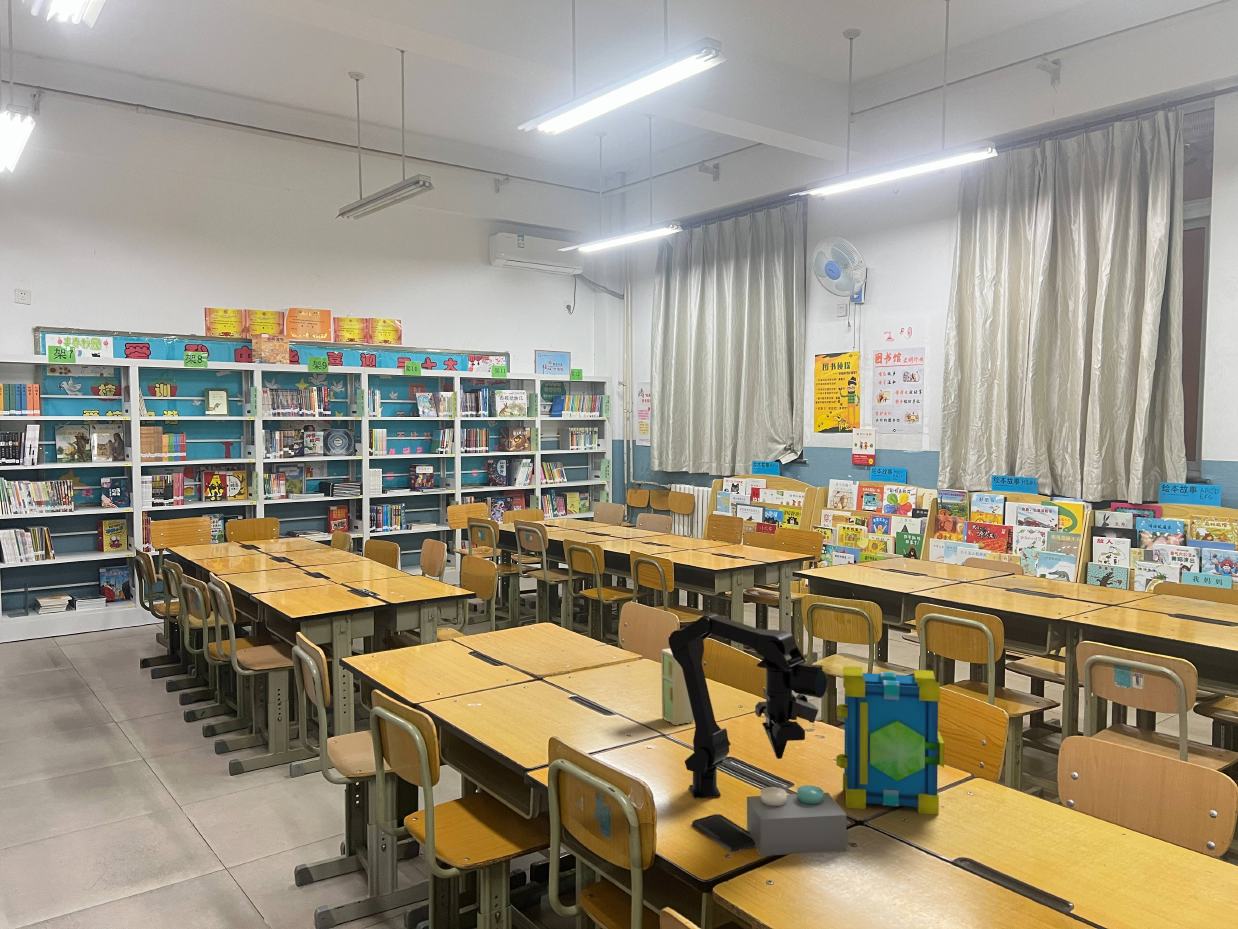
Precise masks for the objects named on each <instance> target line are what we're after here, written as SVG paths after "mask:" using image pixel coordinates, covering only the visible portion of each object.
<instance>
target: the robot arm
mask: <svg viewBox="0 0 1238 929" xmlns="http://www.w3.org/2000/svg"><path fill="white" fill-rule="evenodd" d="M711 635H714V636H717V637H719V638H723V639H726V640H727V641H732V642H734V643H737V644H740V645H744V646H746V647H748V648H751V649H752V650H754V651H755V652H756V653H757V655H759V656H761V657H762V660H761V661H759V662H758V663H757V664H756V666H757V668H762V669H765V671H766V672H765V686H766V687H765V690H763V696H764V697H765V701H758V702H757V703H756V704H755V710H754V711H755V712H754V713H755V716H757V717H758V718H761V717H762V714H764V717H765V722H762V723H761V724H762V727H763V729H764V731H765V734H766V736H767V739H768V740H769V743H770V745H771V748H772V750H773V753H774V756H775V758H776V759H777V760H781V759H783V757H784V752H785V750H786V747H787V743H788V742H793V741H804V740H806V730H805V729H804V727H802V726H801V724H799V723H798V722H797V720H798V719H803V720H805V721H808V722H809V723H812V724H814V723H815V720H816V718H817V715H818V712H819V708H817V706H816V705H814V704H812V703H811V702H809V701H808V696H809V697H813V698H818V699H821V698H823V697H824V695H825V694H826V691H827V687H828V678H827V674H826V673H825V671H824V670H823V665H820V664H810V663H807V659H806V658H805V656H804V655H803V653H802V652H801V650H800V649H799V647H798V645H797V641H796V639H795V637H794V635H793V634H792V633H791V632H790V631H786V630H779V629H763V628H757V627H755V626H751V625H748V624H745V623H742V622H738V621H735V620H732V619H730V618H727V617H723V616H722V615H721V616H720V614H717V613H715V612H714V613H713V612H712V613H709V614H705V615H703V616H701V617H699V619H697V620H696V621H695V622H692V623H691V624H689V625H688V626H686V627H683V628H679V629H676V630H674V631H672V632H671V633H670V636H669V637H668V646H669V648H670V649H671V652H672V654H673V657H674V658H675V660H676V661H677V662H678V663H679V665H680V666H681V667H682V670H683V675H684V679H685V683H686V687H687V692H688V696H689V700H690V705H691V709H692V713H693V718H694V722H693V723H694V725H695V729H694V735H693V740H692V744H693V753H692V754H690V756H688V757H687V758H686V759H685V760H684V763H685V764H684V765H685V768H686V770H687V771H689V772H692V784H689V786H688V788H689V790H690V793H691V795H692V797H693V798H694V799H699V798H700V799H701V798H720V797H721V792H720V790H719V788H718V783H717V781H718V780H717V779H718V778H717V776H718V775H717V773H718V771H717V770H718V769H717V767H718V766H719V765H722V764H723V763H724V760H725V759H726V757H727V756H728V754H729V753H730V746H731V745H732V743H731V742H730V741H729V738H728V737H729V736H728V730H727V728H726V727H724V728H721V727H720V725H718V723H717V722H716V719H715V718H716V717H715V713H714V709H713V705H712V701H711V696H710V693H709V689H708V684H707V680H706V675H705V671H704V667H703V658H704V652H705V644H704V640H706V639H707V638H708V637H709V636H711ZM788 657H790V658H789V659H787V658H788ZM793 692H794V693H795V694H797V695H796V696H795V695H794V694H793Z"/></svg>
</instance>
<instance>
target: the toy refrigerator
mask: <svg viewBox="0 0 1238 929" xmlns="http://www.w3.org/2000/svg"><path fill="white" fill-rule="evenodd" d="M660 651H661V654H660V656H661V658H660V659H661V660H660V661H661V663H660V664H661V666H660V667H661V668H660V669H661V710H662V711H661V717H663V718H665V719H666V720H668V721H669V722H671V723H672V724H673V725H672V724H671V723H670V724H671V725H672V726H674V725H677V726H680V725H679V724H683V725H685V724H684V723H688V724H691V723H690V722H693V723H695V722H694V718H693V713H692V709H691V705H690V700H689V696H688V692H687V687H686V683H685V679H684V675H683V670H682V667H681V666H680V665H679V663H678V662H677V661H676V660H675V658H674V657H673V654H672V652H671V649H670V647H669V648H663V649H661V650H660ZM663 718H662V719H663ZM666 720H665V721H666ZM669 722H668V723H669Z"/></svg>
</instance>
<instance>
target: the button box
mask: <svg viewBox="0 0 1238 929" xmlns="http://www.w3.org/2000/svg"><path fill="white" fill-rule="evenodd" d="M847 821H848V820H847V813H846V812H845V811H844V810H843V809H842V807H841V806H840V805H839V803H838V802H836V800H835V799H834V798H833V797H832V795H831V794H830V793H829V792H823V802H821V803H819V804H806V803H803V802H800V801H799V800H798V799H797V793H795V794H791V793H789V794H787V801H786V804H784V805H782V806H769V805H766V804H764V803H762V802H761V795H755V796H754V795H753V796H747V797H746V831H748V832H749V833H750V835H751V837H752V838H753V840H754V842H755V846H754V848H756V850H757V852H758V854H759V856H760V857H765V856H766V857H767V856H783V855H784V856H785V855H797V854H801V855H802V854H817V853H832V852H833V853H834V852H846V851H847V824H848V823H847Z"/></svg>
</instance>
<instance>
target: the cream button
mask: <svg viewBox="0 0 1238 929" xmlns="http://www.w3.org/2000/svg"><path fill="white" fill-rule="evenodd" d="M787 795H788V794H787V791H786V790H785V789H783V788H781V787H776V786H767V787H763V788H761V790H760V796H761V802H762V803H764V804H766V805H769V806H782V805H784V804H786V801H787Z"/></svg>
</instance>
